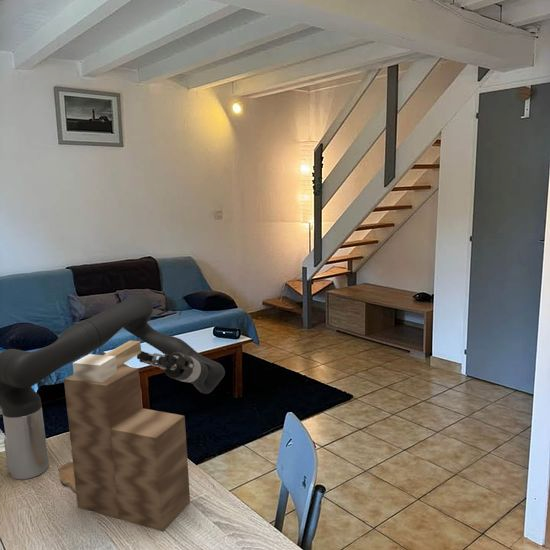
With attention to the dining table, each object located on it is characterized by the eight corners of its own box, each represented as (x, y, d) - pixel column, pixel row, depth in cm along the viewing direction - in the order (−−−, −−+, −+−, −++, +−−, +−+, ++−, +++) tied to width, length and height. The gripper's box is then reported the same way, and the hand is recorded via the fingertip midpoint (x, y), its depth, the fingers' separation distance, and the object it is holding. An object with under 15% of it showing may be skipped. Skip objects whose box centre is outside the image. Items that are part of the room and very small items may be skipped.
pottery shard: (66, 498, 127) (65, 492, 126) (56, 469, 140) (55, 463, 139) (99, 488, 130) (98, 481, 130) (86, 460, 144) (85, 454, 143)
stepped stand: (77, 507, 122) (63, 378, 116) (109, 482, 132) (97, 362, 126) (163, 531, 113) (152, 393, 107) (190, 502, 123) (181, 374, 117)
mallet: (74, 380, 115) (72, 363, 115) (124, 351, 134) (122, 336, 134) (101, 382, 114) (99, 365, 113) (148, 352, 132) (147, 337, 132)
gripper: (165, 352, 154) (133, 339, 140) (207, 357, 149) (178, 344, 135) (159, 377, 152) (126, 367, 138) (201, 383, 147) (171, 373, 133)
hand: (151, 356), depth 136 cm, fingers open, 8 cm apart
